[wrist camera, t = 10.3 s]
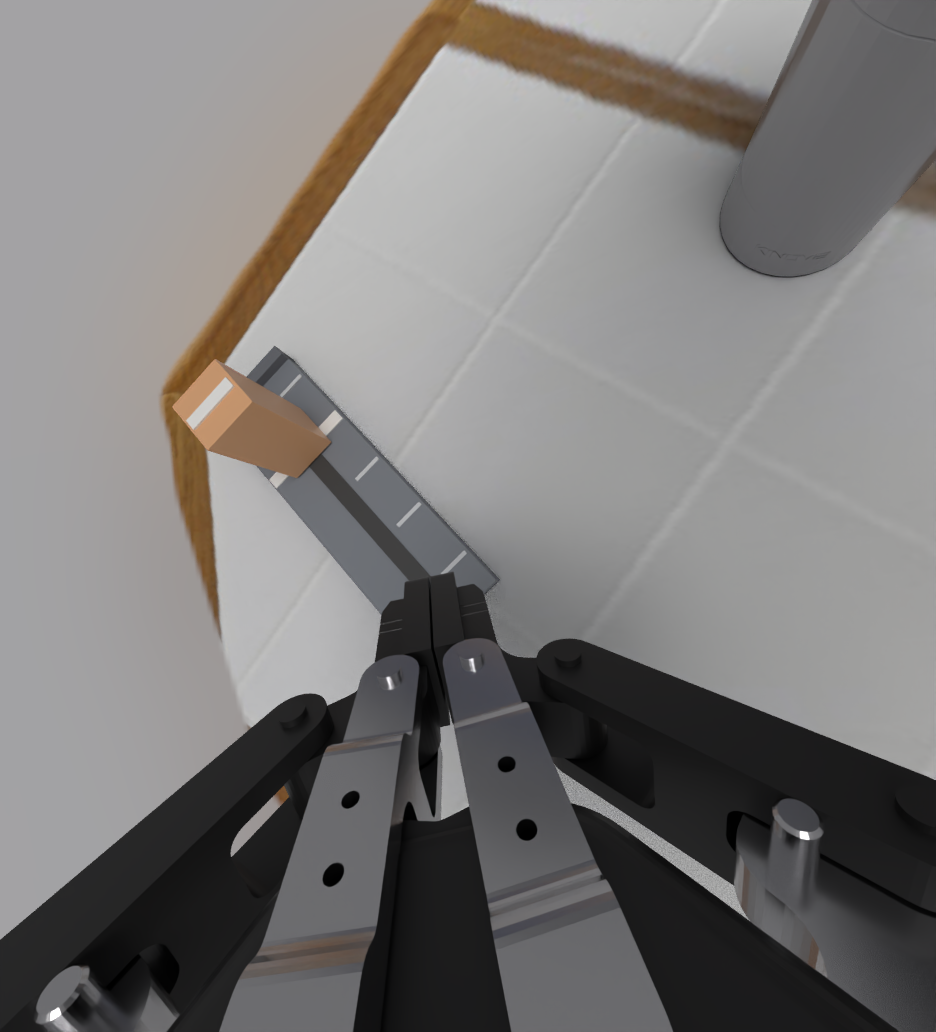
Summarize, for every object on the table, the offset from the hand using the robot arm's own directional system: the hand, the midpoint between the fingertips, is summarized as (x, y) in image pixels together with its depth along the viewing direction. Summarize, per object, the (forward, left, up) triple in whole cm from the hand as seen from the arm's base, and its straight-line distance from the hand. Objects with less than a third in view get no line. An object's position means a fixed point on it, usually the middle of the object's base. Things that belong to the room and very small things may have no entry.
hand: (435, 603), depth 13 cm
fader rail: (-3, -14, -20) cm, 24 cm away
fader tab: (-5, -19, -18) cm, 27 cm away
